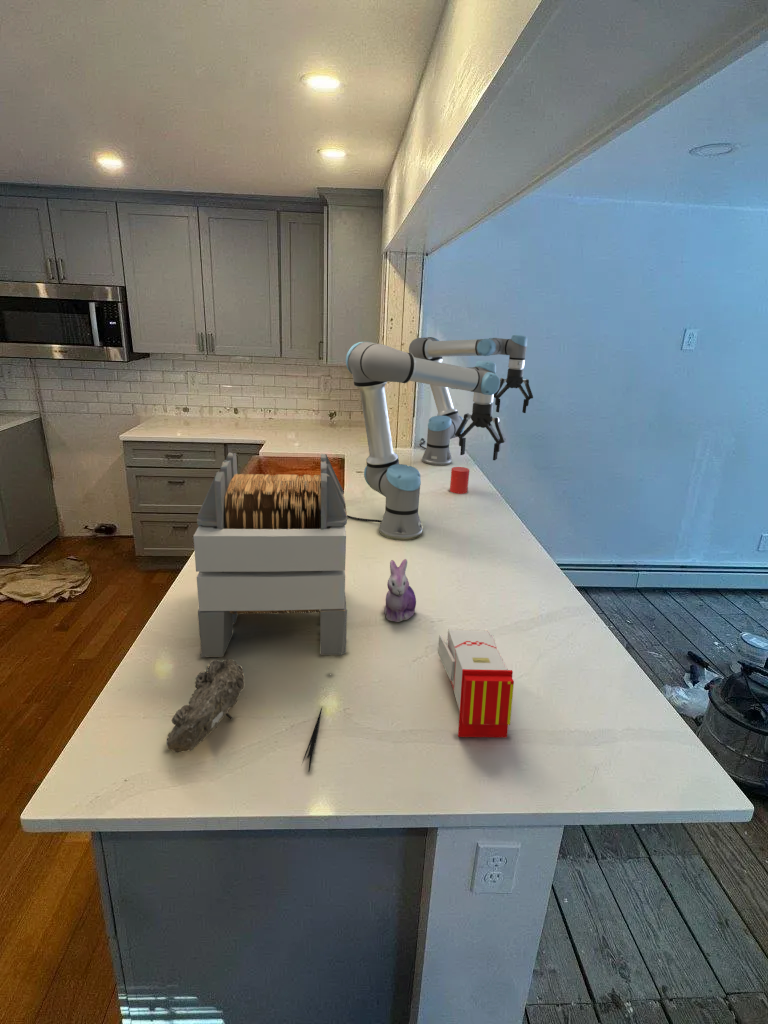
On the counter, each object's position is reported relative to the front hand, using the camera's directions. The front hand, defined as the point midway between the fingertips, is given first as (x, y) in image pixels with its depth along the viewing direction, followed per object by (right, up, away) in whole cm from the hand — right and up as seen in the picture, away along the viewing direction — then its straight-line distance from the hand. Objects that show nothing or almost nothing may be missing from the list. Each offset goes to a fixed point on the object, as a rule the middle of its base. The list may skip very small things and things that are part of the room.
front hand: (478, 457), depth 223 cm
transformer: (-64, -49, -81) cm, 114 cm away
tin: (-4, -12, +27) cm, 30 cm away
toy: (-19, -59, -105) cm, 122 cm away
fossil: (-70, -61, -115) cm, 148 cm away
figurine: (-33, -48, -76) cm, 96 cm away
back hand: (+26, +28, +59) cm, 70 cm away
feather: (-50, -62, -115) cm, 139 cm away
